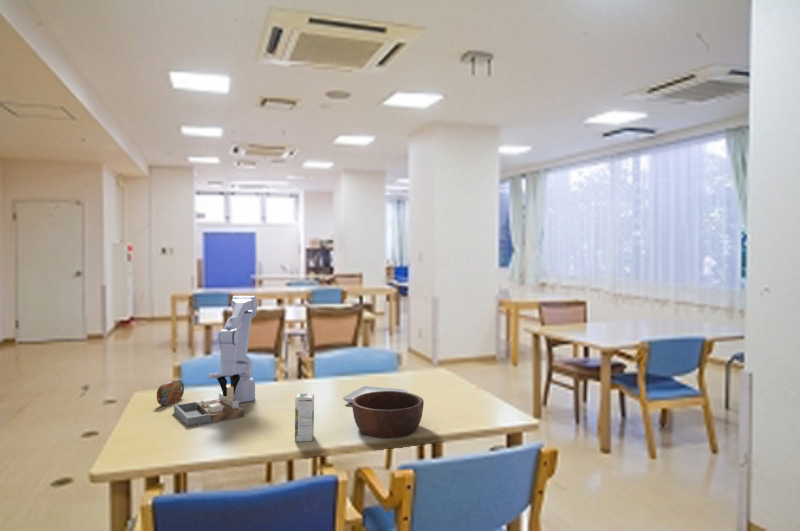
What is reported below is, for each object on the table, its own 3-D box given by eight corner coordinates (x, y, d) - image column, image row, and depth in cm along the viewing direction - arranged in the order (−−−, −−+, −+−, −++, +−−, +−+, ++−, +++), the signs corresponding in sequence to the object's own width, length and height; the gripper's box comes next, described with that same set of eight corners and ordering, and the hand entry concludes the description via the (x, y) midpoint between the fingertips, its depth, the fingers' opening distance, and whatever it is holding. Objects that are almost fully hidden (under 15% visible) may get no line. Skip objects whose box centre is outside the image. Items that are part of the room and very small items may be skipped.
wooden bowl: (429, 420, 196) (429, 392, 196) (415, 444, 172) (415, 412, 172) (364, 415, 202) (364, 388, 202) (342, 438, 177) (342, 407, 177)
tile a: (211, 402, 210) (211, 397, 210) (215, 405, 206) (215, 399, 206) (201, 404, 207) (201, 399, 207) (204, 406, 204) (204, 401, 204)
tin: (162, 408, 211) (161, 386, 211) (155, 407, 212) (154, 386, 212) (184, 397, 226) (184, 378, 226) (178, 397, 227) (177, 377, 227)
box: (195, 409, 209) (195, 401, 209) (210, 422, 193) (210, 414, 193) (174, 412, 205) (173, 405, 205) (187, 426, 189) (187, 418, 189)
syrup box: (296, 435, 179) (296, 393, 179) (314, 435, 180) (314, 392, 180) (294, 441, 174) (294, 397, 173) (313, 441, 174) (312, 397, 174)
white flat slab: (225, 398, 214) (225, 381, 214) (238, 408, 201) (238, 389, 201) (219, 399, 213) (218, 382, 213) (232, 409, 200) (232, 390, 200)
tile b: (219, 408, 202) (219, 402, 202) (222, 410, 199) (222, 405, 199) (208, 410, 200) (208, 404, 200) (211, 412, 197) (211, 407, 197)
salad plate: (341, 405, 216) (341, 397, 216) (364, 392, 236) (364, 384, 236) (389, 411, 208) (389, 402, 208) (408, 397, 228) (408, 389, 228)
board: (226, 404, 217) (226, 397, 217) (244, 416, 201) (244, 409, 200) (196, 409, 210) (196, 402, 210) (211, 422, 193) (211, 415, 193)
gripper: (212, 364, 199) (212, 400, 199) (250, 359, 208) (250, 394, 208) (206, 361, 205) (207, 396, 205) (244, 356, 213) (244, 390, 214)
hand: (228, 395), depth 207 cm, fingers closed on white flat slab, 2 cm apart
